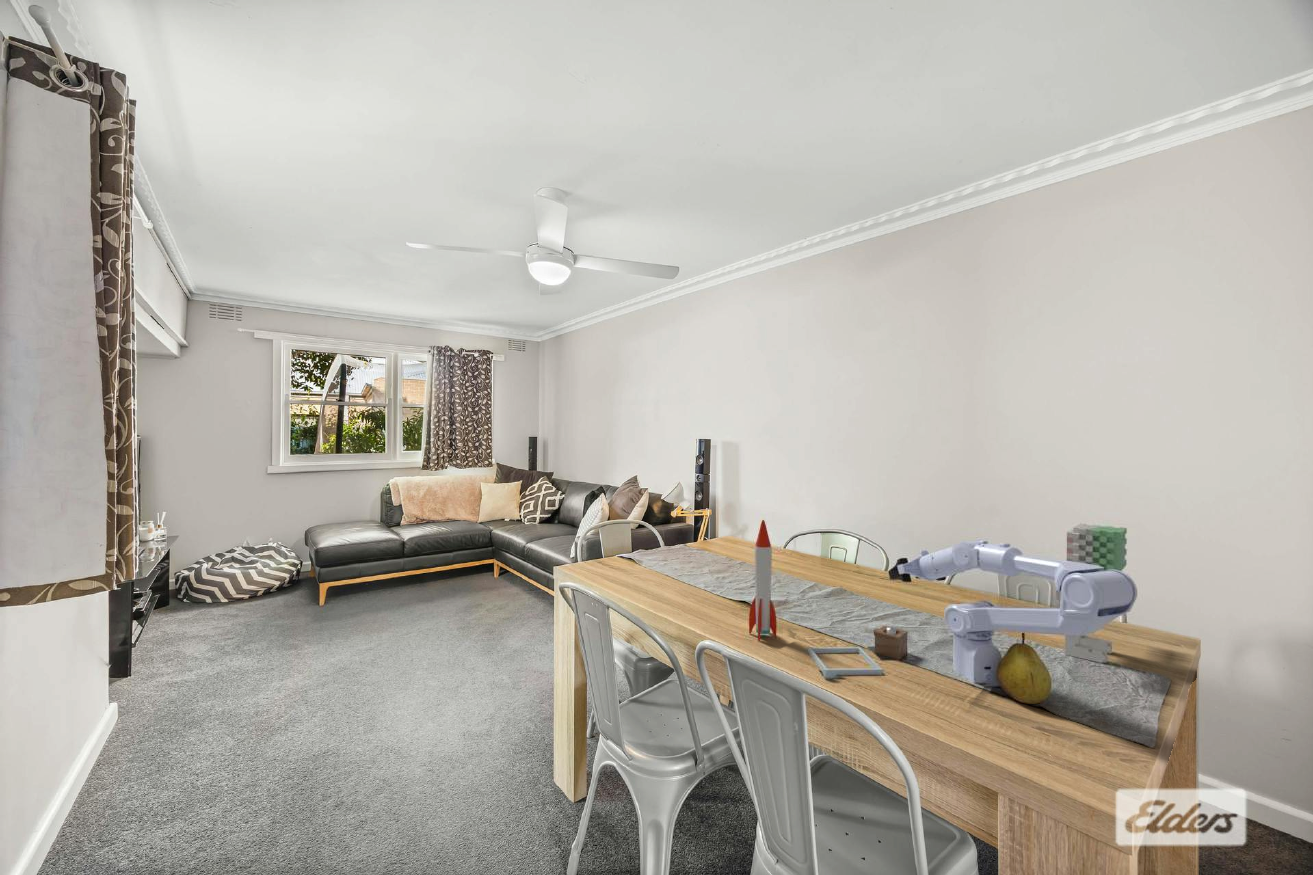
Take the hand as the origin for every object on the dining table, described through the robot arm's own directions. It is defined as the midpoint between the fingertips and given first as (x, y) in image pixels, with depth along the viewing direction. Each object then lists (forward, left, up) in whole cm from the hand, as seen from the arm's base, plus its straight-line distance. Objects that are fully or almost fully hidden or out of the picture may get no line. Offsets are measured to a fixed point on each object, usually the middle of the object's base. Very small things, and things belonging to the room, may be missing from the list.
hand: (903, 574), depth 137 cm
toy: (-9, -41, -17) cm, 46 cm away
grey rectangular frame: (-15, +20, -17) cm, 30 cm away
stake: (-10, +7, -17) cm, 21 cm away
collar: (-10, +7, -16) cm, 20 cm away
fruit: (-30, -10, -17) cm, 36 cm away
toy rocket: (+4, +34, -17) cm, 39 cm away
